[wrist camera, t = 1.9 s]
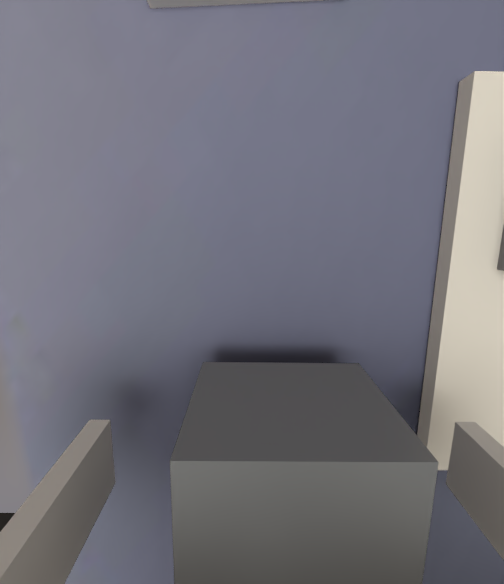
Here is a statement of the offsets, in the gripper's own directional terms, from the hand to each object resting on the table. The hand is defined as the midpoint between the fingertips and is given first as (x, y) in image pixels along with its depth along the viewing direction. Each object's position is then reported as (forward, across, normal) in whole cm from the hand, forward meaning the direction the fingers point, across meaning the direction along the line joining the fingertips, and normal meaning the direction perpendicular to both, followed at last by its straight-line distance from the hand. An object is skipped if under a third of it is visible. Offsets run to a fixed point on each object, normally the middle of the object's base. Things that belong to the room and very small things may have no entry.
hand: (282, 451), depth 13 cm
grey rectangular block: (+4, 0, 0) cm, 4 cm away
